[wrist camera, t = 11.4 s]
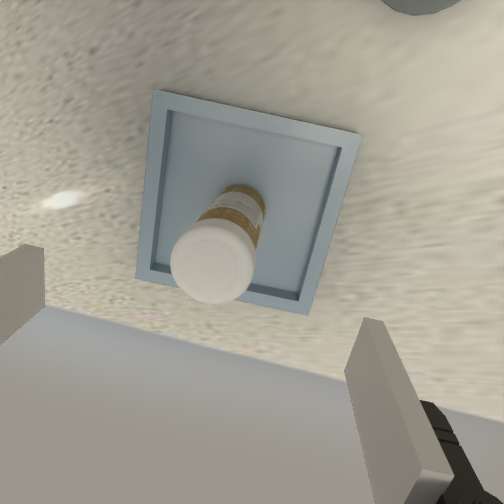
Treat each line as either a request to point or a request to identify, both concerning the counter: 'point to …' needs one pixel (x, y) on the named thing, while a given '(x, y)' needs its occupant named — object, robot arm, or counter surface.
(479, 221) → the counter surface
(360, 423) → the robot arm
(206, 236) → the sprinkles bottle
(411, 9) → the spray bottle
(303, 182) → the tray
